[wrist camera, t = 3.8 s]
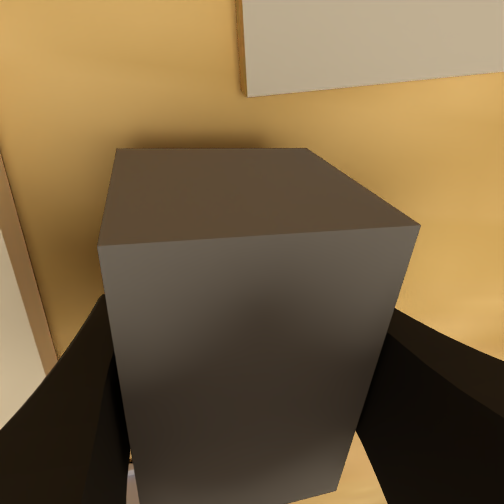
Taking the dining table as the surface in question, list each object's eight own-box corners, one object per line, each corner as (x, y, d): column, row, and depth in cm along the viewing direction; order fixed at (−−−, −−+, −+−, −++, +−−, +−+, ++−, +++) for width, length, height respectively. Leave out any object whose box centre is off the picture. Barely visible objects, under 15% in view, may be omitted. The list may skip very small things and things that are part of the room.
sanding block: (278, 357, 14) (336, 490, 10) (143, 377, 13) (145, 540, 9) (306, 148, 10) (420, 225, 6) (116, 148, 9) (97, 245, 5)
